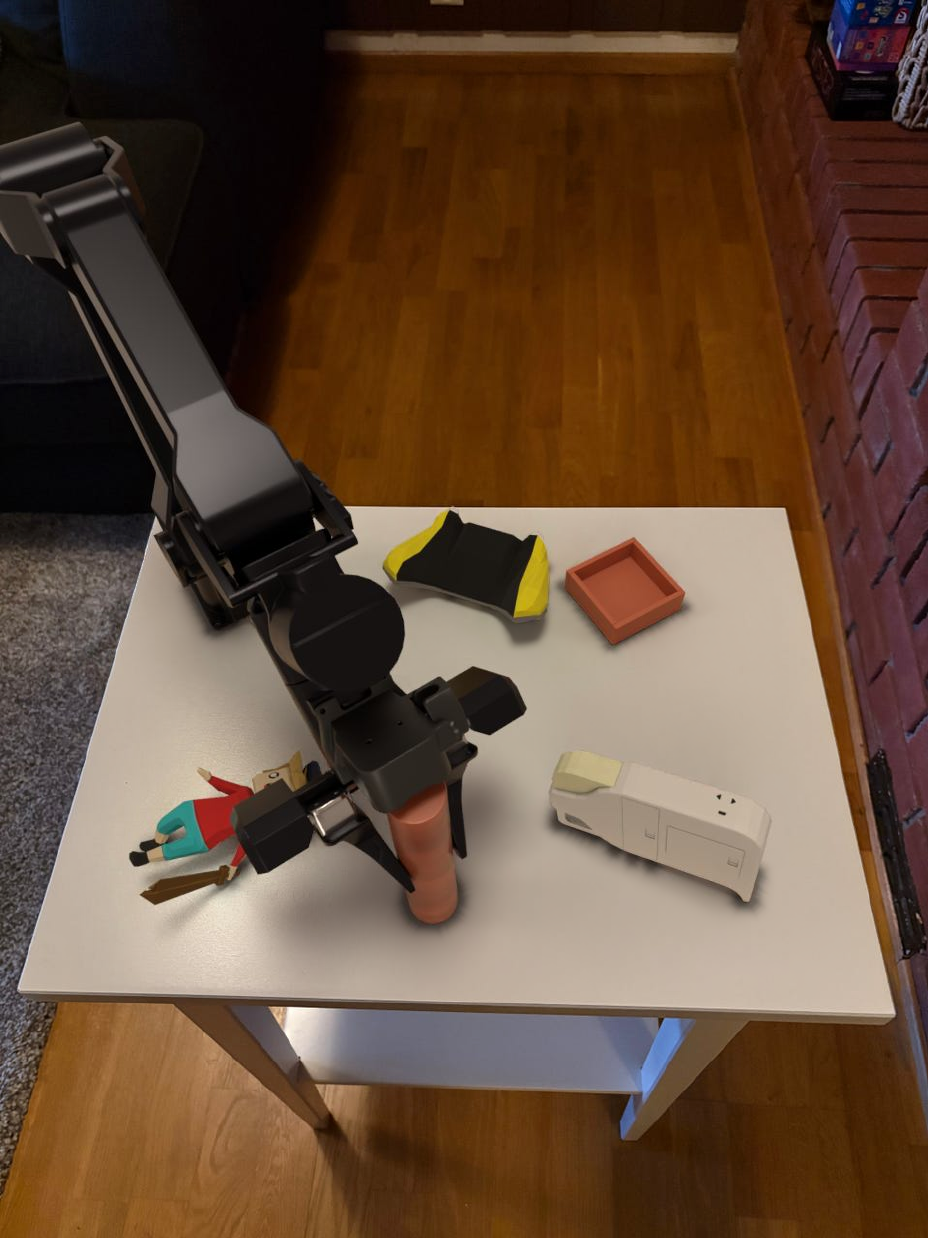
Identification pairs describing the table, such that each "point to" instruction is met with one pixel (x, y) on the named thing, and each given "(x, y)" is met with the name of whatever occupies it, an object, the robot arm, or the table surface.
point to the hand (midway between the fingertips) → (437, 873)
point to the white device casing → (663, 817)
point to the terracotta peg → (427, 853)
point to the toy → (209, 829)
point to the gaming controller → (475, 566)
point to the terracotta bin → (623, 590)
